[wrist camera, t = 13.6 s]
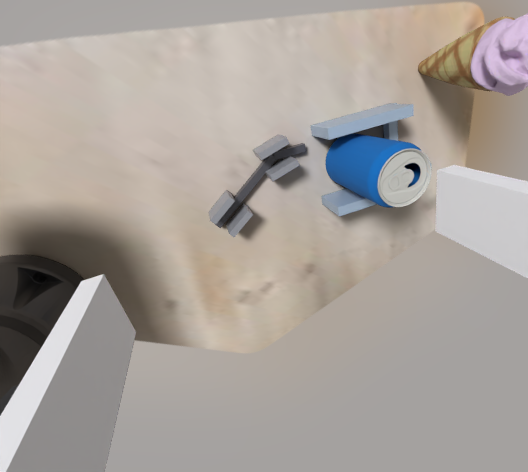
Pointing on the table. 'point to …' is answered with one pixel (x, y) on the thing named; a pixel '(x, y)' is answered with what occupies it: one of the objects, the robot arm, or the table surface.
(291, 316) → the table surface
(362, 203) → the end holder
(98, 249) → the table surface
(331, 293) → the table surface
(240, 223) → the clip
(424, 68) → the ice cream cone
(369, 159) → the beverage can
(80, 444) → the robot arm
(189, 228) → the table surface
